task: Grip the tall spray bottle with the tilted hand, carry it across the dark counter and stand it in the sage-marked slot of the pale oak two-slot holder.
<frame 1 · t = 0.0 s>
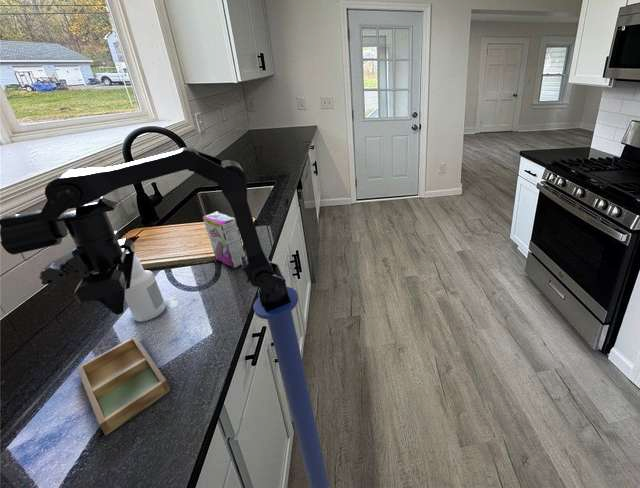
hand: (123, 300, 66), 15 cm above the counter, tool pointing down, fingers open, 9 cm apart
spray bottle: (150, 313, 84), on the counter
candy bar box: (231, 261, 105), on the counter
holder: (125, 383, 64), on the counter
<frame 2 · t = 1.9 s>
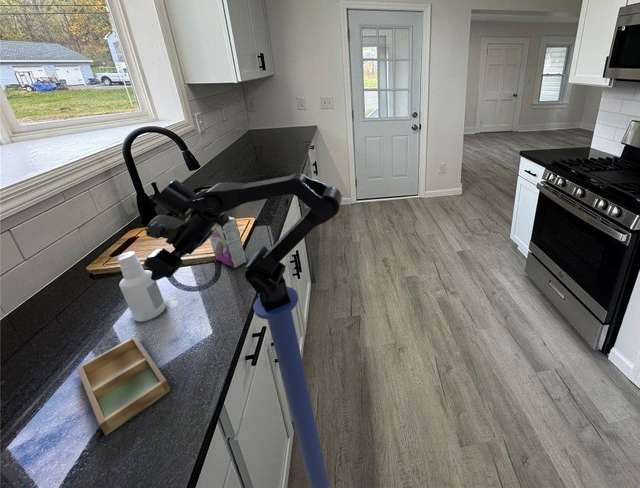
hand: (165, 268, 79), 13 cm above the counter, tool tilted 45°, fingers open, 9 cm apart
nothing on the counter moved.
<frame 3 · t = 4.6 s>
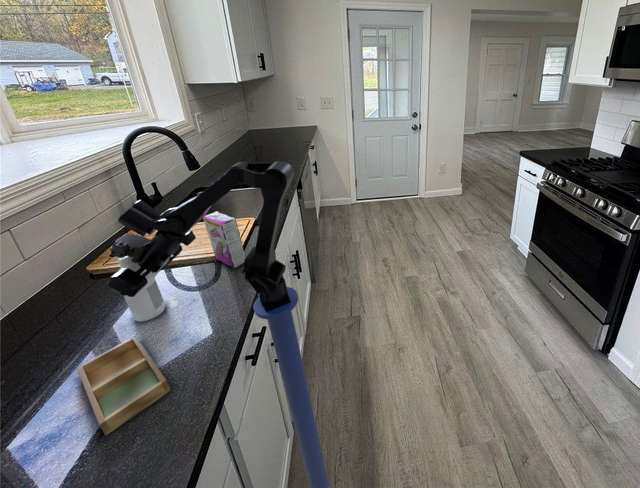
hand: (133, 285, 80), 9 cm above the counter, tool tilted 45°, fingers closed on spray bottle, 7 cm apart
spray bottle: (150, 313, 84), on the counter, touching gripper
everything else where it was.
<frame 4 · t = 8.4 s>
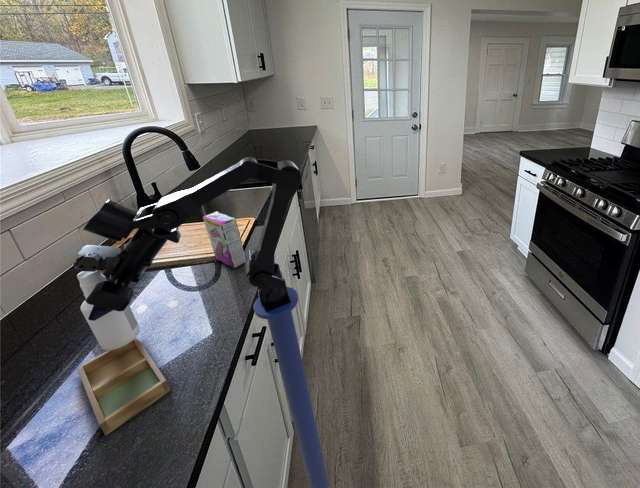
hand: (97, 308, 66), 13 cm above the counter, tool tilted 45°, fingers closed on spray bottle, 7 cm apart
spray bottle: (122, 339, 70), point 4 cm above the counter, touching gripper
everything else where it was.
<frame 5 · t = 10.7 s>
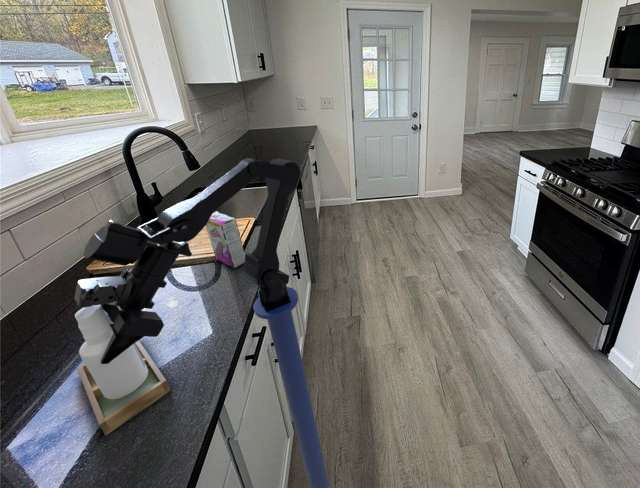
hand: (98, 353, 56), 13 cm above the counter, tool tilted 45°, fingers closed on spray bottle, 7 cm apart
spray bottle: (127, 383, 61), point 3 cm above the counter, touching gripper
everything else where it was.
when the fingers open (10 cm above the counter, at t = 12.3 s): spray bottle stays where it is, resting on holder.
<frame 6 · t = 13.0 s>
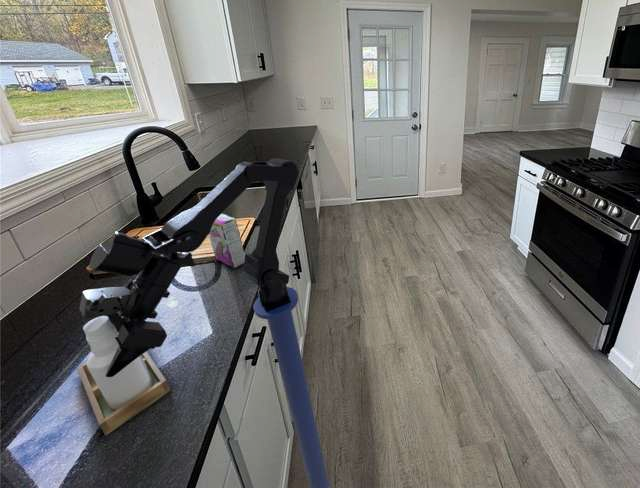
hand: (102, 363, 57), 10 cm above the counter, tool tilted 45°, fingers open, 9 cm apart
spray bottle: (132, 394, 62), resting on holder
everything else where it was.
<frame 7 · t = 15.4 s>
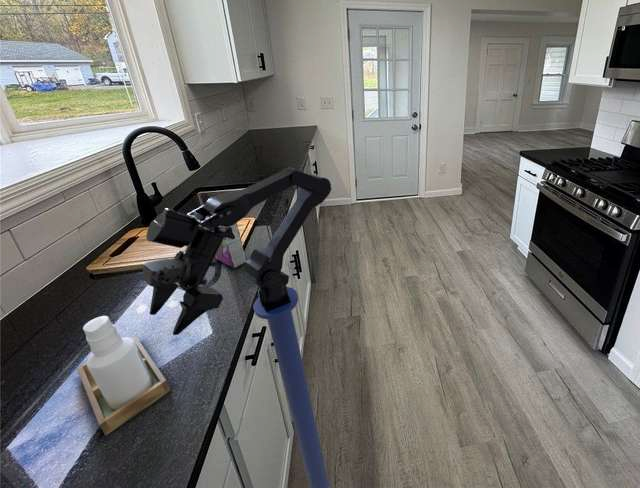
hand: (163, 324, 64), 11 cm above the counter, tool tilted 40°, fingers open, 9 cm apart
nothing on the counter moved.
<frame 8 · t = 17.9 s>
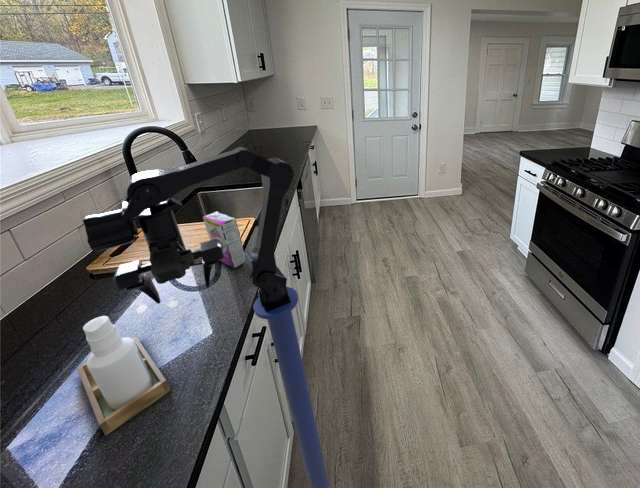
hand: (184, 294, 70), 13 cm above the counter, tool pointing down, fingers open, 9 cm apart
nothing on the counter moved.
at the end: spray bottle 0.2 cm from the target spot in the holder, point 0.4 cm above the holder's base; spray bottle tilted 0°; the gripper is holding nothing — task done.
